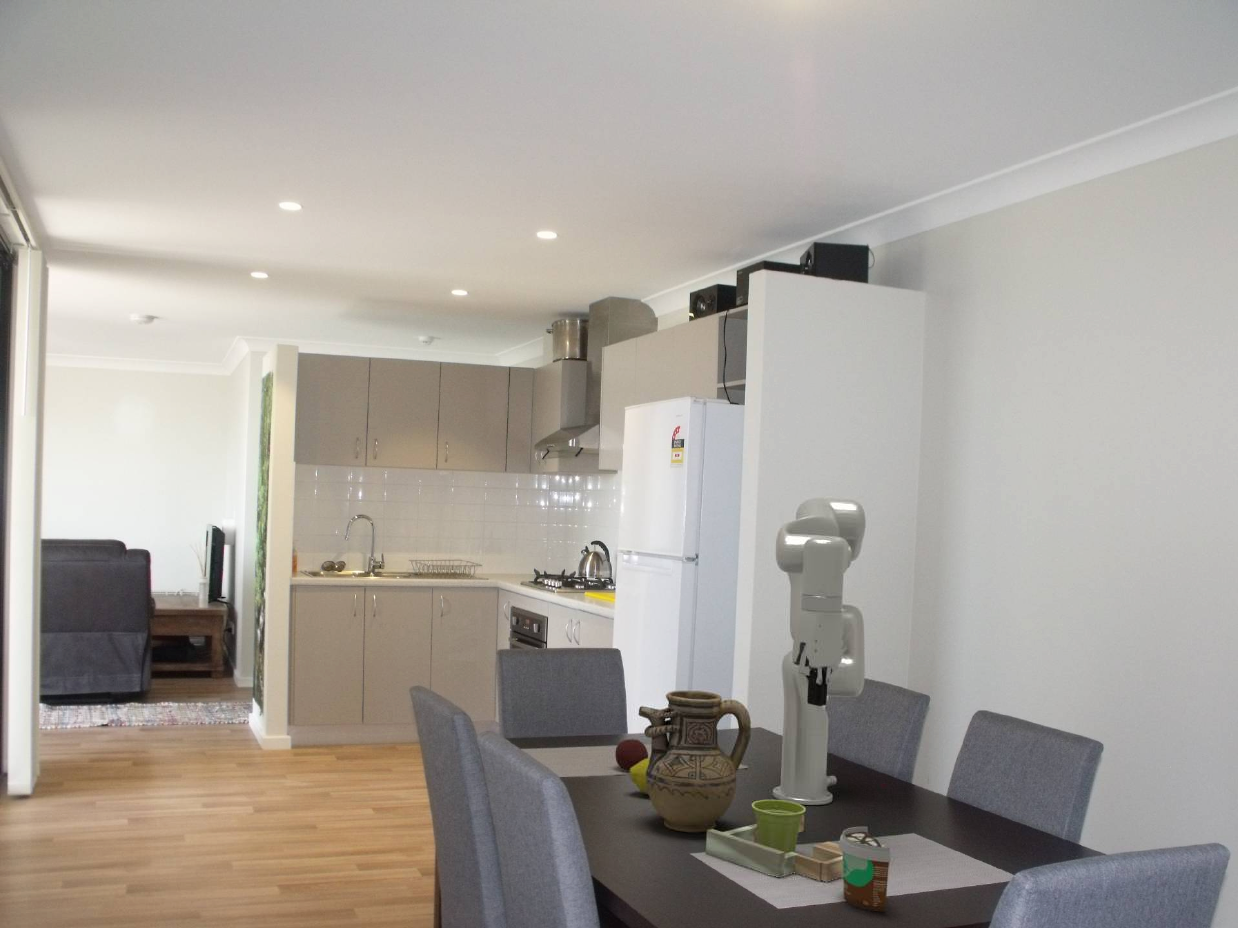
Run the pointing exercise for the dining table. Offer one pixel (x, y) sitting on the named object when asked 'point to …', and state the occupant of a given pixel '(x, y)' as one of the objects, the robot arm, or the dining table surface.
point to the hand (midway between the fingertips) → (816, 704)
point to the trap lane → (774, 854)
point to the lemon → (640, 774)
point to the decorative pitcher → (693, 759)
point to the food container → (864, 869)
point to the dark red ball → (630, 753)
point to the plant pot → (778, 823)
